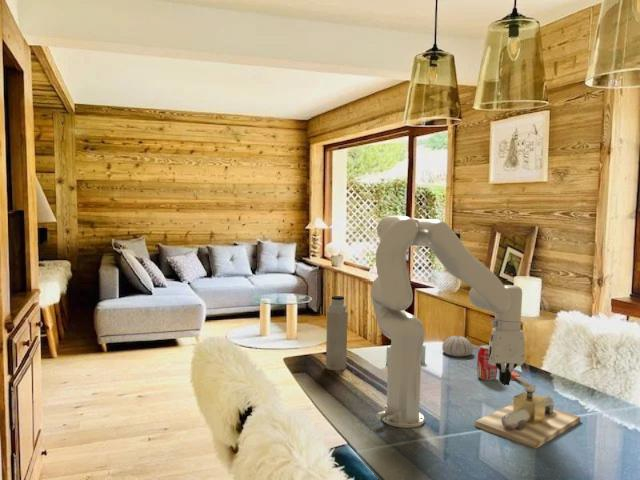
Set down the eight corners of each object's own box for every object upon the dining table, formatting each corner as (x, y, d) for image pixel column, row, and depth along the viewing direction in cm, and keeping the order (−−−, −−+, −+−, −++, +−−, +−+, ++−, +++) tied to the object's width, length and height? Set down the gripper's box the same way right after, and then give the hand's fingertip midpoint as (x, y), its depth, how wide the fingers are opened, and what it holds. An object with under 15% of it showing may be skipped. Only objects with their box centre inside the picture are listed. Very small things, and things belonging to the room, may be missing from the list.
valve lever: (536, 392, 147) (537, 386, 147) (527, 393, 147) (527, 386, 147) (513, 375, 162) (513, 370, 162) (504, 375, 162) (504, 370, 162)
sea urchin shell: (441, 356, 218) (441, 338, 217) (442, 348, 231) (442, 331, 230) (473, 359, 214) (474, 341, 214) (472, 351, 227) (473, 333, 227)
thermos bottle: (321, 367, 198) (323, 296, 196) (333, 363, 204) (335, 294, 203) (338, 371, 193) (340, 298, 192) (350, 366, 200) (351, 296, 198)
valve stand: (536, 448, 133) (537, 413, 132) (474, 426, 146) (476, 394, 146) (580, 421, 151) (581, 390, 151) (522, 403, 165) (523, 375, 164)
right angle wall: (386, 365, 205) (386, 347, 204) (397, 358, 215) (398, 341, 214) (414, 371, 198) (415, 352, 198) (424, 363, 209) (425, 345, 208)
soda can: (482, 374, 195) (483, 343, 194) (500, 378, 190) (501, 346, 189) (473, 377, 190) (474, 346, 189) (491, 382, 185) (492, 350, 184)
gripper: (489, 327, 152) (486, 387, 153) (536, 328, 153) (533, 387, 154) (479, 322, 160) (476, 379, 161) (524, 323, 161) (521, 379, 162)
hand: (504, 383), depth 158 cm, fingers closed
